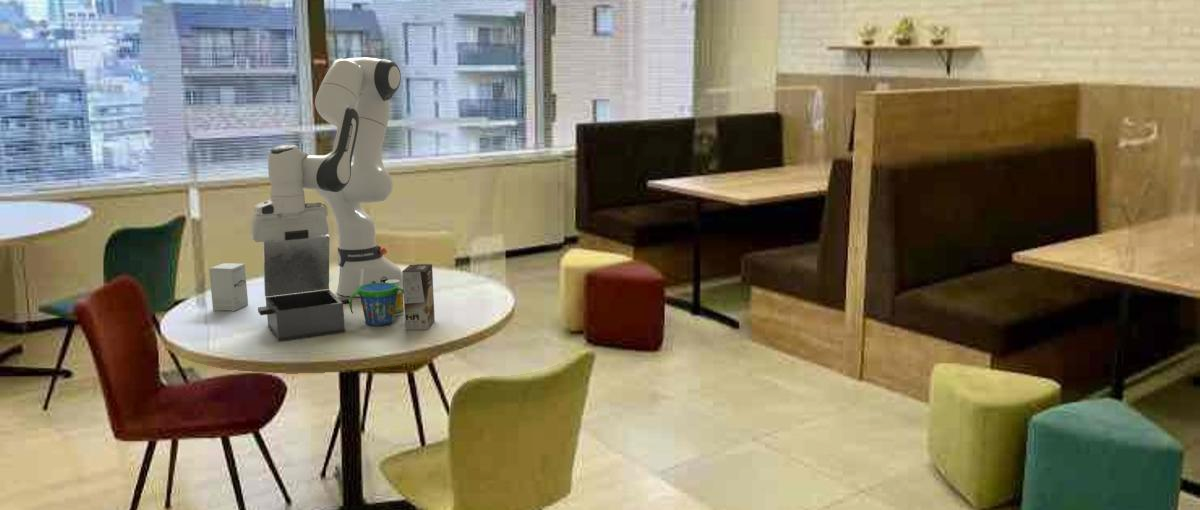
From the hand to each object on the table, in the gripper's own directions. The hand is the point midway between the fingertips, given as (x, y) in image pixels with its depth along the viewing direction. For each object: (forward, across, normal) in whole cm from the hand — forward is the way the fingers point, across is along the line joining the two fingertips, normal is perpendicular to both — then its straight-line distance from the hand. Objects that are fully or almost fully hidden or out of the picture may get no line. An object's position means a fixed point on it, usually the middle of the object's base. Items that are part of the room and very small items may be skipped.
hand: (292, 254), depth 270 cm
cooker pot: (+18, 0, +12) cm, 22 cm away
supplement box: (+18, +15, -22) cm, 32 cm away
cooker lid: (+1, 0, +7) cm, 7 cm away
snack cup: (+18, -19, +16) cm, 31 cm away
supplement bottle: (+18, -25, +9) cm, 32 cm away
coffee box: (+18, -28, +24) cm, 41 cm away
